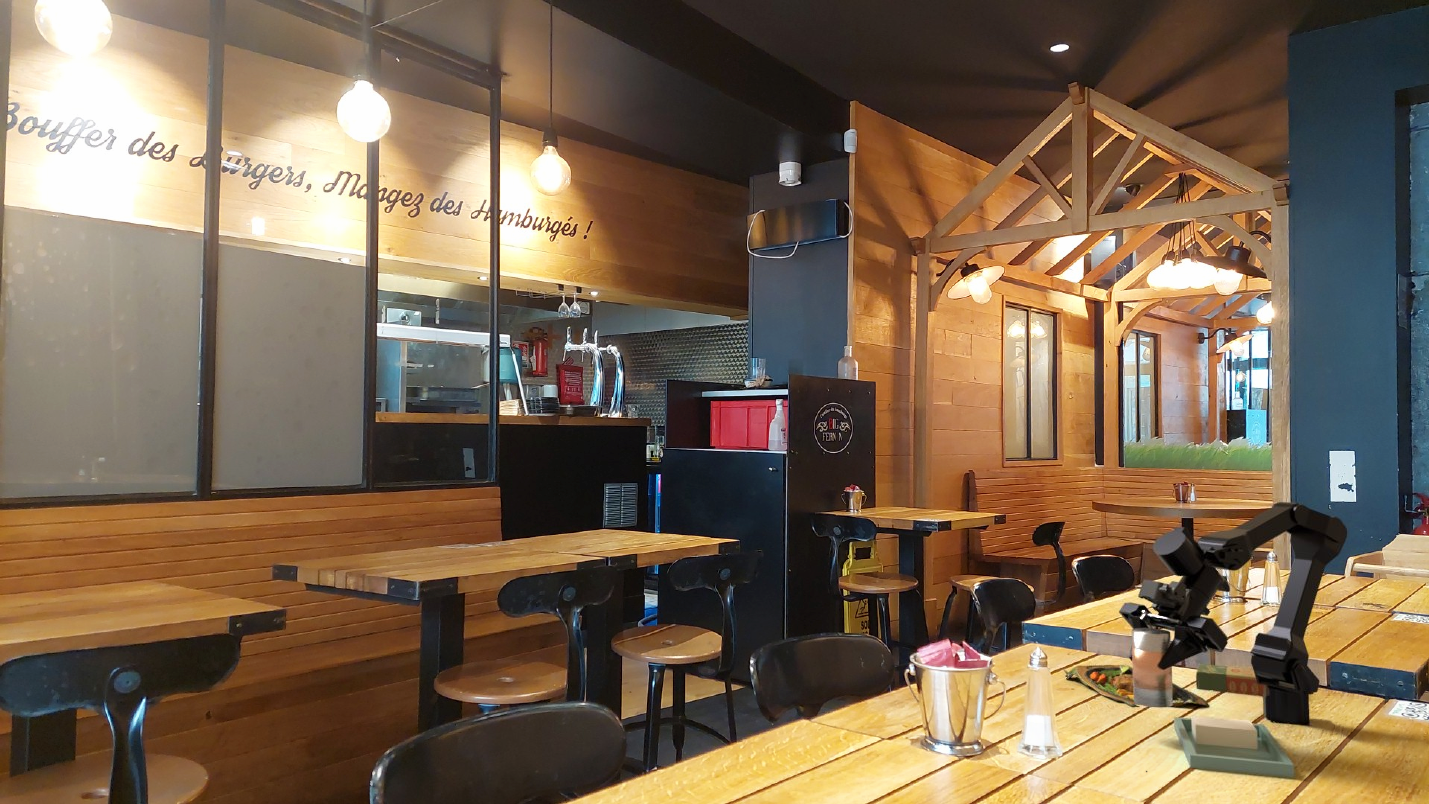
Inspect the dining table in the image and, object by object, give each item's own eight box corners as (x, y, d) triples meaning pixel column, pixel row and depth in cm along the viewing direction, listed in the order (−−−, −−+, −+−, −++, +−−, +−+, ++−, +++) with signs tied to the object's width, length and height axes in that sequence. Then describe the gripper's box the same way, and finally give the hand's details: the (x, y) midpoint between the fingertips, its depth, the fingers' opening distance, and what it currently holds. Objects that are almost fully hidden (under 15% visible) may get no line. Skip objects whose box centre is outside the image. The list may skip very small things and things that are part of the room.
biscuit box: (1250, 738, 162) (1250, 720, 162) (1257, 749, 156) (1257, 730, 157) (1191, 733, 165) (1191, 715, 165) (1196, 743, 159) (1196, 725, 160)
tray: (1264, 739, 164) (1264, 724, 164) (1294, 782, 143) (1293, 765, 143) (1174, 731, 168) (1174, 717, 168) (1190, 771, 148) (1190, 755, 148)
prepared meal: (1219, 690, 184) (1133, 692, 181) (1220, 709, 184) (1134, 711, 181) (1133, 663, 212) (1058, 664, 209) (1134, 679, 211) (1058, 681, 209)
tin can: (1168, 698, 164) (1166, 628, 165) (1176, 708, 159) (1174, 635, 159) (1130, 697, 166) (1128, 627, 166) (1137, 706, 160) (1134, 634, 160)
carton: (1286, 701, 189) (1285, 679, 190) (1195, 691, 198) (1195, 670, 198) (1285, 691, 197) (1284, 670, 197) (1198, 682, 205) (1197, 661, 205)
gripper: (1125, 557, 173) (1078, 623, 169) (1212, 569, 156) (1162, 643, 151) (1160, 598, 176) (1114, 664, 171) (1249, 614, 158) (1201, 688, 154)
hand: (1145, 664), depth 162 cm, fingers closed on tin can, 6 cm apart
